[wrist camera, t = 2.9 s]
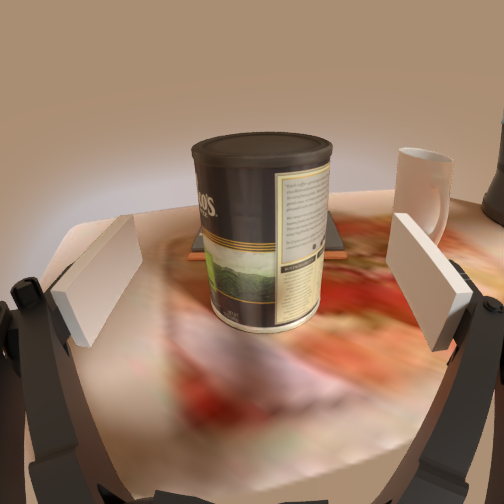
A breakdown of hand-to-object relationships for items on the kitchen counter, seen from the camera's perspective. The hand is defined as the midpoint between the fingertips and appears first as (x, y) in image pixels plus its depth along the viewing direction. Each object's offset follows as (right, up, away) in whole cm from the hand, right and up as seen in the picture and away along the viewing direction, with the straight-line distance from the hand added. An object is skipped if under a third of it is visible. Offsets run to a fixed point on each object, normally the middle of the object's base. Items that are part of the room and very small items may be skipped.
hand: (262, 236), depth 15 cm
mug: (+19, -1, +19) cm, 27 cm away
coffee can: (+1, -5, +14) cm, 15 cm away
